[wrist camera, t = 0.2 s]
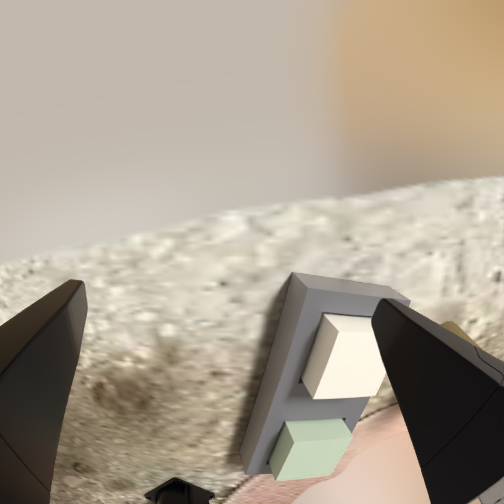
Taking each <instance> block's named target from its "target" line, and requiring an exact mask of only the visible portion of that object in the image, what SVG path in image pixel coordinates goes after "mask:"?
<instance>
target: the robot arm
mask: <svg viewBox="0 0 504 504" xmlns="http://www.w3.org/2000/svg"><path fill="white" fill-rule="evenodd" d="M87 310H88V306H87V298H86V290H85V284H84V282H83V281H81V280H72V279H71V280H68V281H67V282H65V283H64V284H62V285H61V286H59V287H57V288H56V289H54V290H53V291H51V292H50V293H48V294H47V295H45V296H44V297H42V298H41V299H39V300H38V301H36V302H35V303H33V304H32V305H30V306H29V307H27V308H26V309H24V310H23V311H21V312H20V313H18V314H17V315H15V316H14V317H13V318H11V319H10V320H8V321H7V322H5V323H4V324H3V325H1V326H0V504H49V502H50V493H49V492H51V485H52V478H53V471H54V465H55V459H56V453H57V448H58V442H59V437H60V432H61V428H62V423H63V418H64V414H65V410H66V405H67V401H68V397H69V393H70V389H71V385H72V381H73V378H74V374H75V370H76V367H77V363H78V359H79V354H80V349H81V343H82V337H83V332H84V326H85V321H86V316H87ZM371 326H372V329H373V332H374V335H375V339H376V342H377V346H378V349H379V352H380V356H381V359H382V362H383V365H384V368H385V370H386V373H387V375H388V378H389V380H390V383H391V386H392V388H393V391H394V394H395V396H396V399H397V402H398V404H399V407H400V410H401V412H402V415H403V418H404V421H405V424H406V426H407V429H408V432H409V435H410V438H411V441H412V444H413V446H414V449H415V453H416V455H417V459H418V462H419V465H420V468H421V472H422V475H423V478H424V482H425V485H426V488H427V492H428V495H429V498H430V502H431V504H469V503H471V502H472V501H473V500H475V499H477V498H479V500H480V502H481V504H504V362H503V361H501V360H499V359H498V358H496V357H494V356H492V355H490V354H489V353H487V352H485V351H483V350H482V349H480V348H478V347H477V346H475V345H474V346H473V344H471V343H470V342H468V341H466V340H465V339H463V338H461V337H460V336H458V335H456V334H454V333H453V332H451V331H449V330H448V329H446V328H444V327H442V326H441V325H439V324H437V323H435V322H434V321H432V320H430V319H429V318H427V317H425V316H423V315H422V314H420V313H418V312H416V311H415V310H413V309H411V308H409V307H407V306H406V305H404V304H402V303H400V302H399V301H397V300H395V299H393V298H382V299H380V300H379V302H378V304H377V307H376V309H375V311H374V313H373V315H372V318H371ZM214 497H215V494H214V493H212V492H210V491H207V490H205V489H202V488H200V487H197V486H195V485H192V484H190V483H188V482H185V481H183V480H181V479H178V478H174V479H172V480H170V481H168V482H167V483H165V484H163V485H161V486H160V487H158V488H156V489H154V490H153V491H151V492H149V493H147V494H146V495H145V498H146V499H148V500H151V501H153V502H155V504H209V500H211V499H212V498H214Z"/></svg>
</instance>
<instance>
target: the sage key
mask: <svg viewBox="0 0 504 504" xmlns="http://www.w3.org/2000/svg"><path fill="white" fill-rule="evenodd" d="M352 439H353V435H352V434H351V432H350V430H349V429H348V427H347V426H346V424H345V423H344V421H343V420H342V418H337V419H324V420H306V421H284V422H283V424H282V427H281V429H280V432H279V434H278V437H277V439H276V441H275V444H274V446H273V449H272V451H271V453H270V456H269V458H268V461H269V464H270V467H271V470H272V473H273V476H274V478H275V481H285V480H295V479H304V478H313V477H320V476H327V475H331V473H332V472H333V470H334V469H335V467H336V466H337V464H338V462H339V461H340V459H341V457H342V456H343V454H344V452H345V451H346V449H347V447H348V446H349V444H350V442H351V440H352Z"/></svg>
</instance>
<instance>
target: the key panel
mask: <svg viewBox="0 0 504 504" xmlns="http://www.w3.org/2000/svg"><path fill="white" fill-rule="evenodd" d="M382 298H393V299H395V300H397V301H399V302H400V303H402V304H404V305H406V306H407V307H409V304H410V301H411V300H409V299H408V298H406V297H405V296H403V295H401V294H400V293H398V292H397V291H395V290H394V289H392V288H391V287H389V286H382V285H375V284H369V283H362V282H355V281H348V280H341V279H335V278H328V277H321V276H315V275H308V274H302V273H295V272H292V276H291V279H290V283H289V287H288V291H287V294H286V298H285V302H284V305H283V309H282V312H281V316H280V320H279V323H278V327H277V330H276V334H275V337H274V341H273V344H272V348H271V351H270V355H269V358H268V361H267V365H266V368H265V371H264V375H263V378H262V381H261V385H260V388H259V391H258V395H257V398H256V401H255V404H254V408H253V411H252V414H251V417H250V420H249V423H248V426H247V430H246V433H245V436H244V439H243V442H242V445H241V448H240V455H241V459H242V463H243V467H244V471H245V474H246V475H251V474H273V473H272V470H271V467H270V464H269V461H268V458H269V456H270V453H271V451H272V449H273V446H274V444H275V441H276V439H277V437H278V434H279V432H280V429H281V427H282V424H283V422H284V421H306V420H324V419H337V418H342V420H343V421H344V423H345V424H346V426H347V427H348V429H349V430H350V432H351V433H352V431H353V429H354V428H355V426H356V424H357V422H358V420H359V418H360V416H361V414H362V412H363V411H364V409H365V407H366V405H367V403H368V401H369V399H370V397H371V396H367V397H353V398H336V399H313V398H312V397H311V395H310V393H309V391H308V390H307V388H306V386H305V384H304V383H303V381H302V379H301V374H302V371H303V368H304V366H305V363H306V360H307V357H308V354H309V351H310V348H311V345H312V342H313V339H314V336H315V333H316V330H317V327H318V324H319V321H320V318H321V315H322V312H328V313H338V314H349V315H361V316H372V315H373V313H374V311H375V309H376V307H377V304H378V302H379V300H380V299H382Z"/></svg>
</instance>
